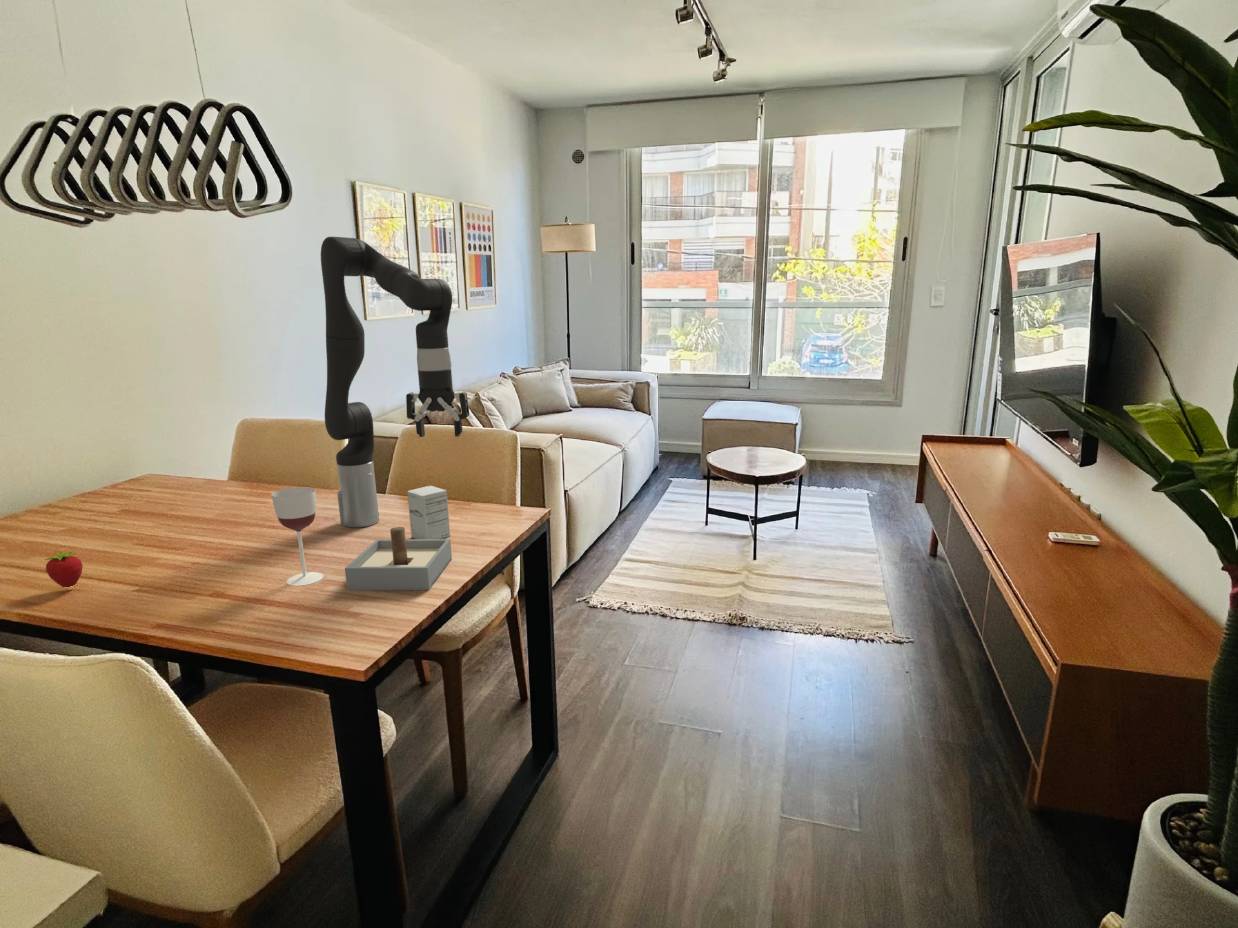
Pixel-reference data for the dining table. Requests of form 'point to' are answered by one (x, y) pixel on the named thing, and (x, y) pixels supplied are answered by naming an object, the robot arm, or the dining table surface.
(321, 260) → the robot arm
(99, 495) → the dining table surface
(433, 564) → the peg box
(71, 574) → the strawberry
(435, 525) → the supplement box
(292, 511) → the wineglass
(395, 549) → the peg
